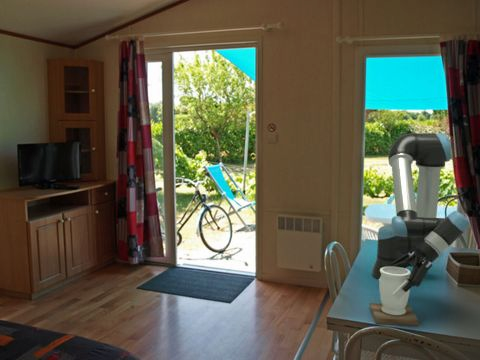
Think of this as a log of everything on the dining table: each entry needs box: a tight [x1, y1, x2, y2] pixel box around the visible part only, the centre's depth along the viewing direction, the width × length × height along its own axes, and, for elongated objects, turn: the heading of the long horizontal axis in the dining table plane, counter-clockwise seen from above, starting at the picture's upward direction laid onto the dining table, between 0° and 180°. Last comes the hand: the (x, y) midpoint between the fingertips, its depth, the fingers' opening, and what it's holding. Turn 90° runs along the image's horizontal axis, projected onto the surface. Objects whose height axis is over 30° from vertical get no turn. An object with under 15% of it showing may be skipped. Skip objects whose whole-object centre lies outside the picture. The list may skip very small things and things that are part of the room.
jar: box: [378, 267, 411, 315], centre depth 166 cm, size 11×10×15 cm
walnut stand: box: [369, 302, 420, 327], centre depth 167 cm, size 14×14×2 cm
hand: (387, 289), depth 166 cm, fingers open, 13 cm apart
